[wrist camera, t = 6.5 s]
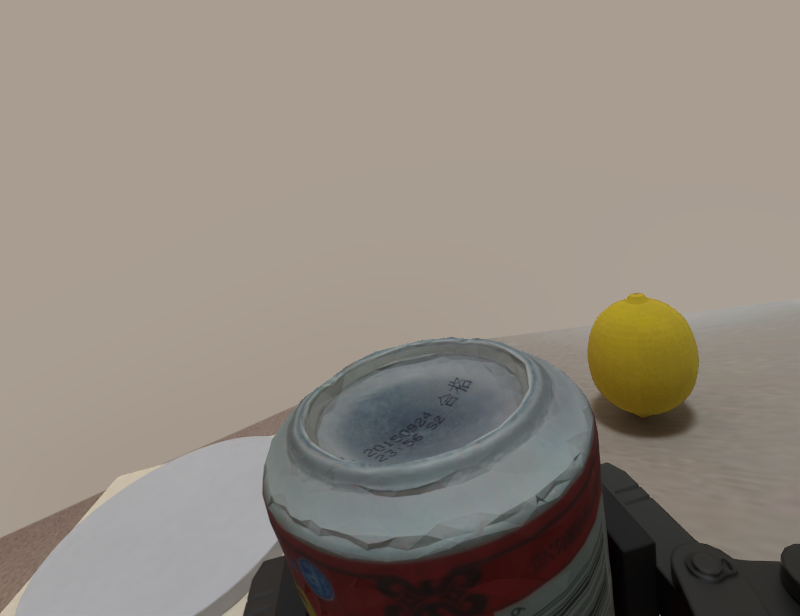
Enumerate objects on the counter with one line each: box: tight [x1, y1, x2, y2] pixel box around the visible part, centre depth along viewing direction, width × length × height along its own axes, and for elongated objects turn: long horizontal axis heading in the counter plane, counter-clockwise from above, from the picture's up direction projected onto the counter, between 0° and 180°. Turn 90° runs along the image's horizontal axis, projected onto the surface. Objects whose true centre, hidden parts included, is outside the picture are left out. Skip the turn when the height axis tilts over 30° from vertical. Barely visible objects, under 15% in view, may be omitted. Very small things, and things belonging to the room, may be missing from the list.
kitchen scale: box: [0, 435, 284, 616], centre depth 20 cm, size 16×14×3 cm
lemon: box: [588, 293, 699, 418], centre depth 23 cm, size 6×6×8 cm
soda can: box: [262, 337, 615, 616], centre depth 10 cm, size 7×7×12 cm
